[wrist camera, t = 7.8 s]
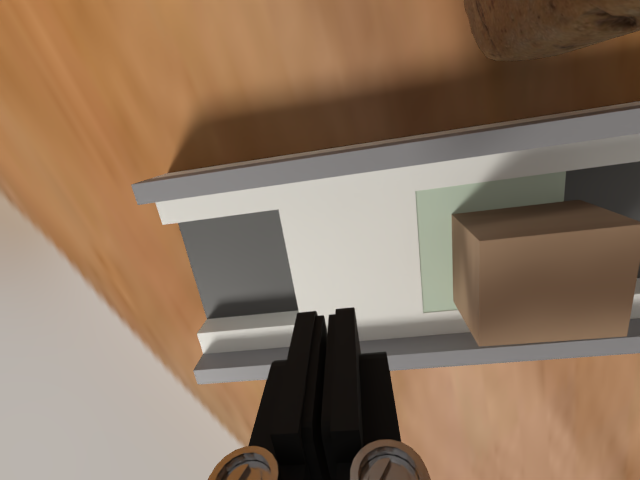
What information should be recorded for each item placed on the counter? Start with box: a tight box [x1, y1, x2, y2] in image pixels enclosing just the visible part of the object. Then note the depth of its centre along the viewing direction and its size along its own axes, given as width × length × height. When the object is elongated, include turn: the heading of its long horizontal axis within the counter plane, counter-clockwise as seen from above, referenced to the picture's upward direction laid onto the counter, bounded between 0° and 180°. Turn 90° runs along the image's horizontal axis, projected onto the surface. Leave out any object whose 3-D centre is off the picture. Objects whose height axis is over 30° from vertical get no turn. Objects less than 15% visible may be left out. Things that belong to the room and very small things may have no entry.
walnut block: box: [451, 200, 640, 347], centre depth 16 cm, size 5×6×4 cm
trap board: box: [131, 101, 640, 384], centre depth 19 cm, size 12×27×4 cm, turn 99°
